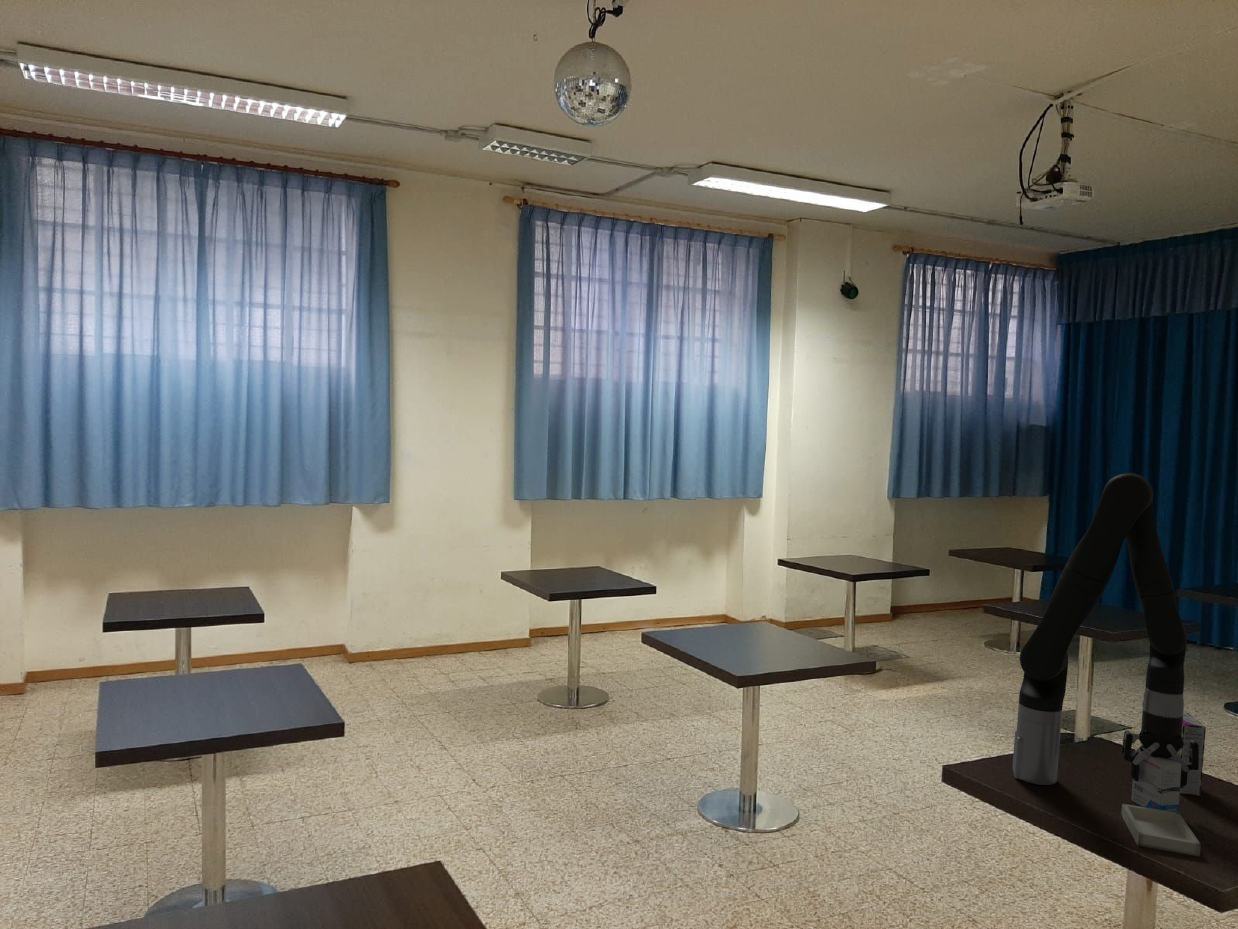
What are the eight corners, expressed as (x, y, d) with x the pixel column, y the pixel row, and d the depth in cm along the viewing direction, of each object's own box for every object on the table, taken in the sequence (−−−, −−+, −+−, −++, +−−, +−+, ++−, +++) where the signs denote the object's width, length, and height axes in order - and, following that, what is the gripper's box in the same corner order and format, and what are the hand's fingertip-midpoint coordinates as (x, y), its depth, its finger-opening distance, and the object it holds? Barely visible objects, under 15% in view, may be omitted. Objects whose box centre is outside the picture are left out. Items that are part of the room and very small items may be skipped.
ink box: (1179, 817, 189) (1184, 763, 188) (1159, 817, 188) (1163, 763, 187) (1149, 799, 197) (1153, 748, 197) (1129, 800, 196) (1133, 748, 196)
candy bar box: (1157, 775, 212) (1163, 708, 211) (1180, 777, 211) (1186, 710, 210) (1177, 794, 201) (1183, 723, 200) (1201, 797, 200) (1207, 726, 199)
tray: (1137, 845, 174) (1138, 833, 174) (1121, 815, 188) (1122, 803, 188) (1199, 856, 171) (1200, 844, 171) (1178, 824, 185) (1179, 813, 185)
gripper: (1129, 711, 190) (1124, 784, 191) (1206, 720, 185) (1200, 795, 186) (1122, 701, 197) (1117, 772, 198) (1195, 709, 193) (1190, 782, 193)
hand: (1157, 783), depth 192 cm, fingers open, 8 cm apart
